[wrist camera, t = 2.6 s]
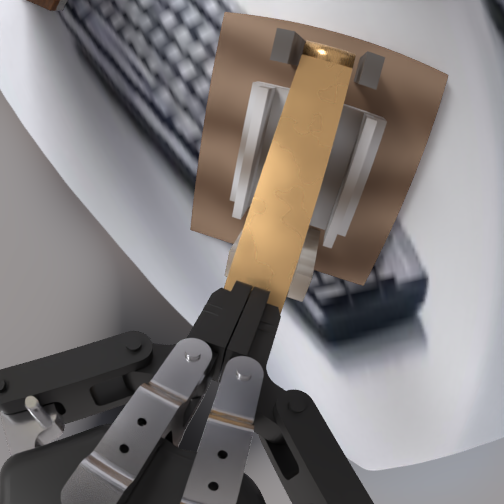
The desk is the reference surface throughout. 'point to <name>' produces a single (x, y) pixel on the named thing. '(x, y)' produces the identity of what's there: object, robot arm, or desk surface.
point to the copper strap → (293, 173)
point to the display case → (51, 4)
